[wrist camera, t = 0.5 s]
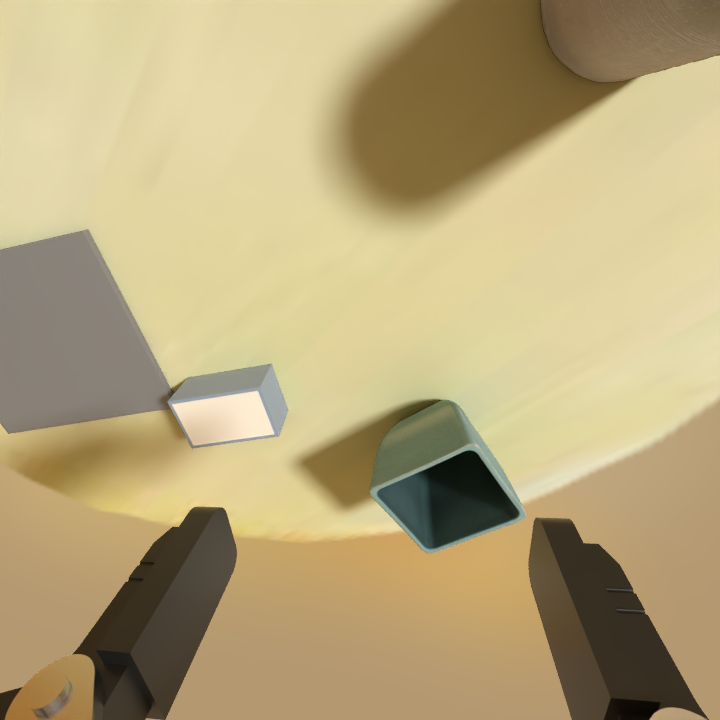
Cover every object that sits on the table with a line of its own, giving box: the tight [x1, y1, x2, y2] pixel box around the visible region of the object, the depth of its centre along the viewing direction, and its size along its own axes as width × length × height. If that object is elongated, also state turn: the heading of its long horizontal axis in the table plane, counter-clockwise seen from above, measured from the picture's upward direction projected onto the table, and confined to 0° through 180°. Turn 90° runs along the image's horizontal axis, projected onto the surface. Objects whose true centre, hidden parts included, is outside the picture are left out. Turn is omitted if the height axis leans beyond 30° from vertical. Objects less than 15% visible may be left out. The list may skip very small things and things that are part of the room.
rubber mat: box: [0, 230, 173, 434], centre depth 33 cm, size 16×18×1 cm
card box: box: [167, 364, 288, 448], centre depth 34 cm, size 5×8×4 cm, turn 102°
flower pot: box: [369, 400, 526, 554], centre depth 32 cm, size 9×9×9 cm
